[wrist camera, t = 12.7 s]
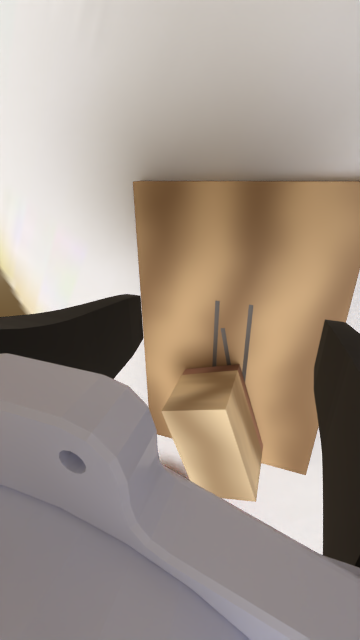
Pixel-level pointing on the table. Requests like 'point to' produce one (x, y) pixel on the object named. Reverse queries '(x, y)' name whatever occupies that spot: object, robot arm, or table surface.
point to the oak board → (246, 292)
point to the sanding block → (216, 431)
